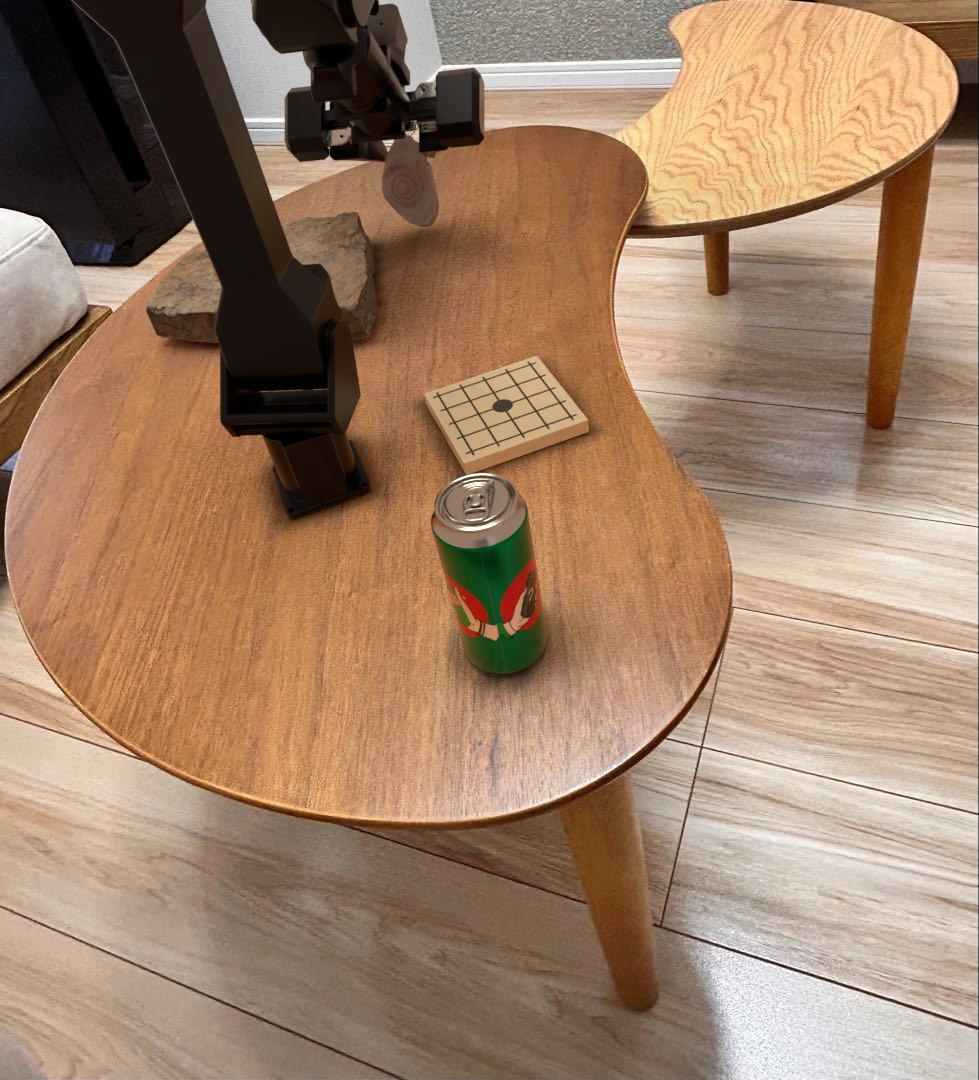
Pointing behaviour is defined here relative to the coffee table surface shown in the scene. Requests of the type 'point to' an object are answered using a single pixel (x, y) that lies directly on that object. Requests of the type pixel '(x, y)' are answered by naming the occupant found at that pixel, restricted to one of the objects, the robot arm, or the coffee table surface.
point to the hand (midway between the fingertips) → (410, 155)
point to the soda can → (490, 571)
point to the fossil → (410, 183)
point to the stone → (329, 241)
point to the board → (505, 414)
